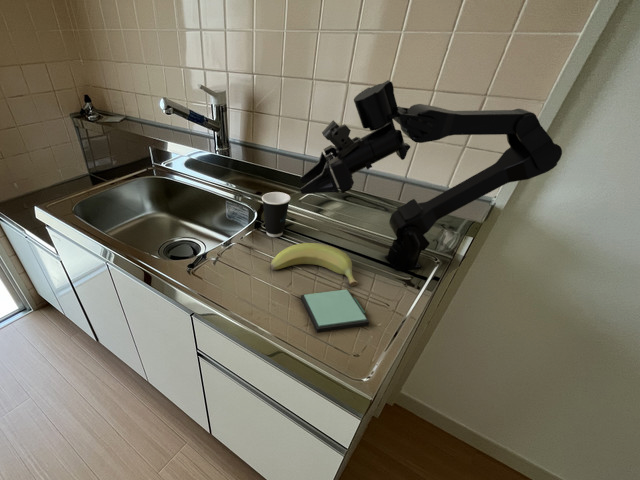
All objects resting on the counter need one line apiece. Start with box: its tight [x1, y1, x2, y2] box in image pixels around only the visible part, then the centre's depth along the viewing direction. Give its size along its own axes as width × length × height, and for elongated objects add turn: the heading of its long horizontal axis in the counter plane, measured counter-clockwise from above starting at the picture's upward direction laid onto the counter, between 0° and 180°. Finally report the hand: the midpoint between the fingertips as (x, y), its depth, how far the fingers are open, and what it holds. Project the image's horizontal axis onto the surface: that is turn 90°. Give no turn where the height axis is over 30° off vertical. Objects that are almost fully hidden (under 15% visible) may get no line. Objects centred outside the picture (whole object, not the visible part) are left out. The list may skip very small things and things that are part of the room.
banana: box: [270, 242, 358, 287], centre depth 83 cm, size 14×6×20 cm
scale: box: [300, 288, 370, 334], centre depth 72 cm, size 12×11×2 cm
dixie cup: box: [261, 191, 292, 238], centre depth 97 cm, size 8×8×11 cm
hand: (300, 186), depth 75 cm, fingers open, 9 cm apart
